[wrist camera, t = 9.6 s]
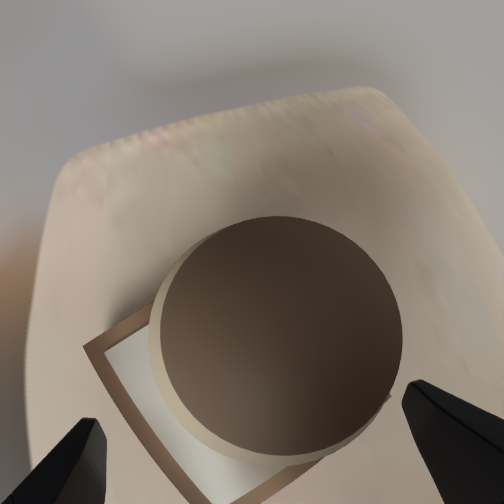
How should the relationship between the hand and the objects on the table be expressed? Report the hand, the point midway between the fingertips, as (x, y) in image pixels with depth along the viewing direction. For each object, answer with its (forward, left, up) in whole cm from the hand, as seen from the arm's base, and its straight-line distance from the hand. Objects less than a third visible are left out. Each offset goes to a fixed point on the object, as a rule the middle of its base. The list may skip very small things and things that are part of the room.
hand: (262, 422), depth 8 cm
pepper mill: (+1, +1, -7) cm, 8 cm away
